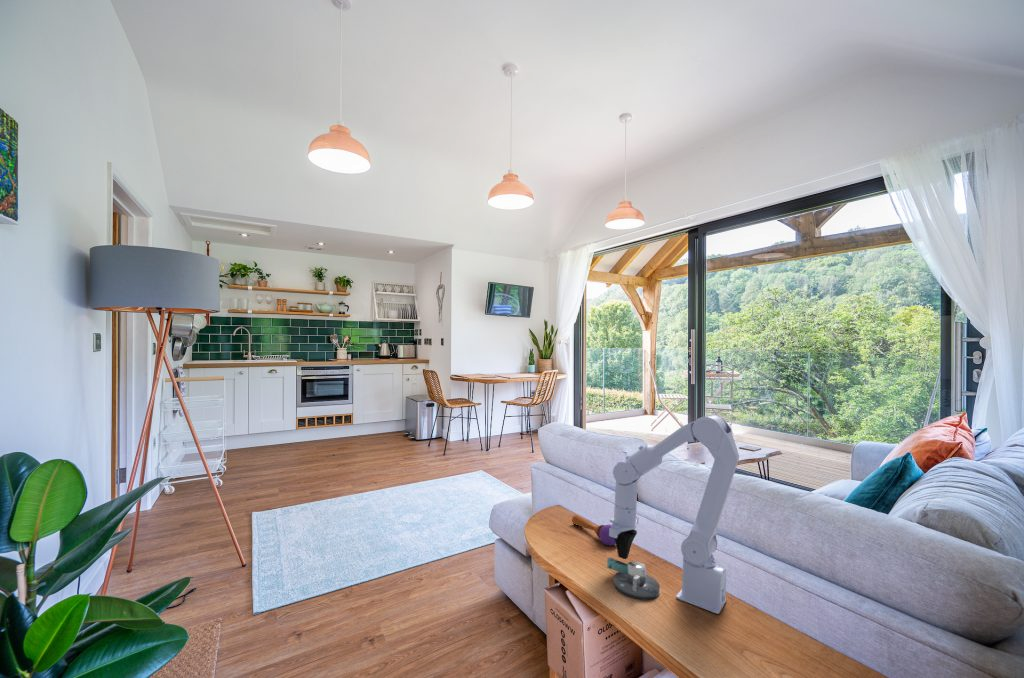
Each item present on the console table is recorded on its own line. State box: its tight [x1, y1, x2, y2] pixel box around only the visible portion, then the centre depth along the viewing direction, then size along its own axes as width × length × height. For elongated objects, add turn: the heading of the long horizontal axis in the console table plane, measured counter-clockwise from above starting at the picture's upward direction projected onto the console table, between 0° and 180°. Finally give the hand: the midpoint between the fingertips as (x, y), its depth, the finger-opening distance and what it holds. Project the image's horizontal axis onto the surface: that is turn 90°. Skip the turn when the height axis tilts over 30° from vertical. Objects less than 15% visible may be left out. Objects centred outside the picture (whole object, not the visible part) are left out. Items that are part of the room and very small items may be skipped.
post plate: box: [613, 571, 661, 601], centre depth 106 cm, size 11×11×4 cm
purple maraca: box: [571, 514, 616, 547], centre depth 138 cm, size 6×6×20 cm
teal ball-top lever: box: [606, 557, 647, 585], centre depth 108 cm, size 10×4×4 cm, turn 51°
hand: (622, 557), depth 114 cm, fingers closed
